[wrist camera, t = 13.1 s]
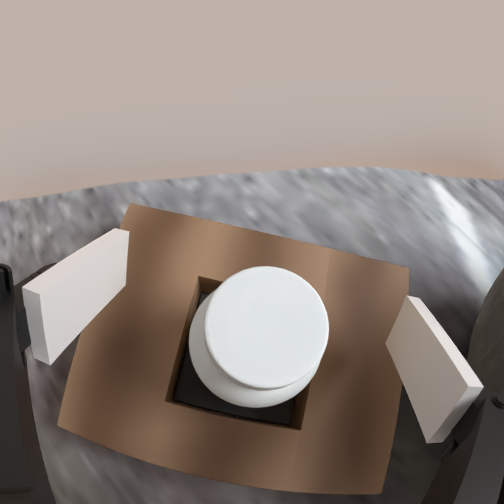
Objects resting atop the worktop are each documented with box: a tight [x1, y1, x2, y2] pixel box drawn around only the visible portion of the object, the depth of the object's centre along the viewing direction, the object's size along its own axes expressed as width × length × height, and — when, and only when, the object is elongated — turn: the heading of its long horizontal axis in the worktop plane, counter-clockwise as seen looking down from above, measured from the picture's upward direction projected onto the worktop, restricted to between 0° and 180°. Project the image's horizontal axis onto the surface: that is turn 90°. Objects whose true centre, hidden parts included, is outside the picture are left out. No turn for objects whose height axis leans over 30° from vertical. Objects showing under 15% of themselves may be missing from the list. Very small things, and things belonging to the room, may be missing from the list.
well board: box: [57, 203, 409, 494], centre depth 17 cm, size 18×14×3 cm
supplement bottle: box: [189, 266, 329, 408], centre depth 14 cm, size 5×5×10 cm
